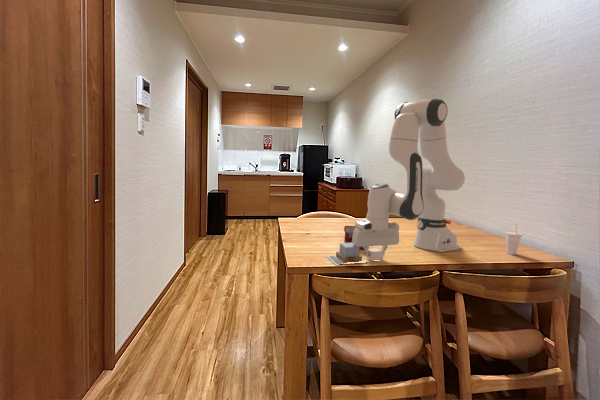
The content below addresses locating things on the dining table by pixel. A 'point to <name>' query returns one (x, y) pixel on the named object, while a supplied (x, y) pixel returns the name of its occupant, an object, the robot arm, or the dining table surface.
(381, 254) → the cream brick
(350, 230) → the toy fire truck
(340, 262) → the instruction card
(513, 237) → the smoothie
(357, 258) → the plinth
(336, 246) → the dining table surface
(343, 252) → the slate brick
